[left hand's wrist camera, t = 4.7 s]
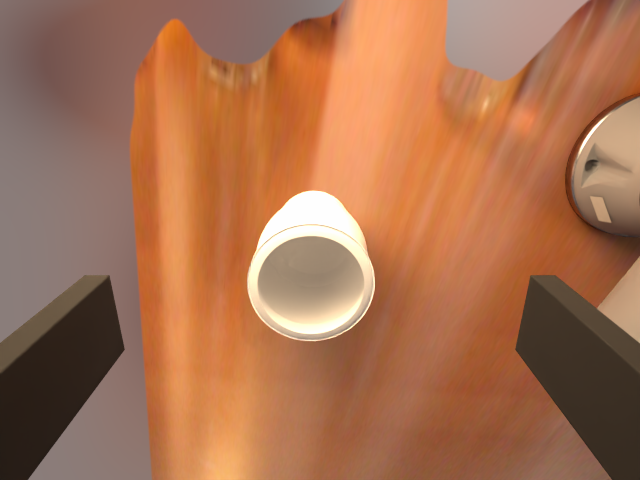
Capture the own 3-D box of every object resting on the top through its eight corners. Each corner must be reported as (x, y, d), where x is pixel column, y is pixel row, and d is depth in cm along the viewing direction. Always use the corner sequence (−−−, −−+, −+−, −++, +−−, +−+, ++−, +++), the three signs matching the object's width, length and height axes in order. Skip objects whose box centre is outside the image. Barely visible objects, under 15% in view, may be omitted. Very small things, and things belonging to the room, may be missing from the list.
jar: (276, 172, 44) (255, 212, 30) (368, 190, 45) (390, 237, 31) (262, 260, 48) (238, 332, 34) (347, 275, 48) (358, 352, 34)
